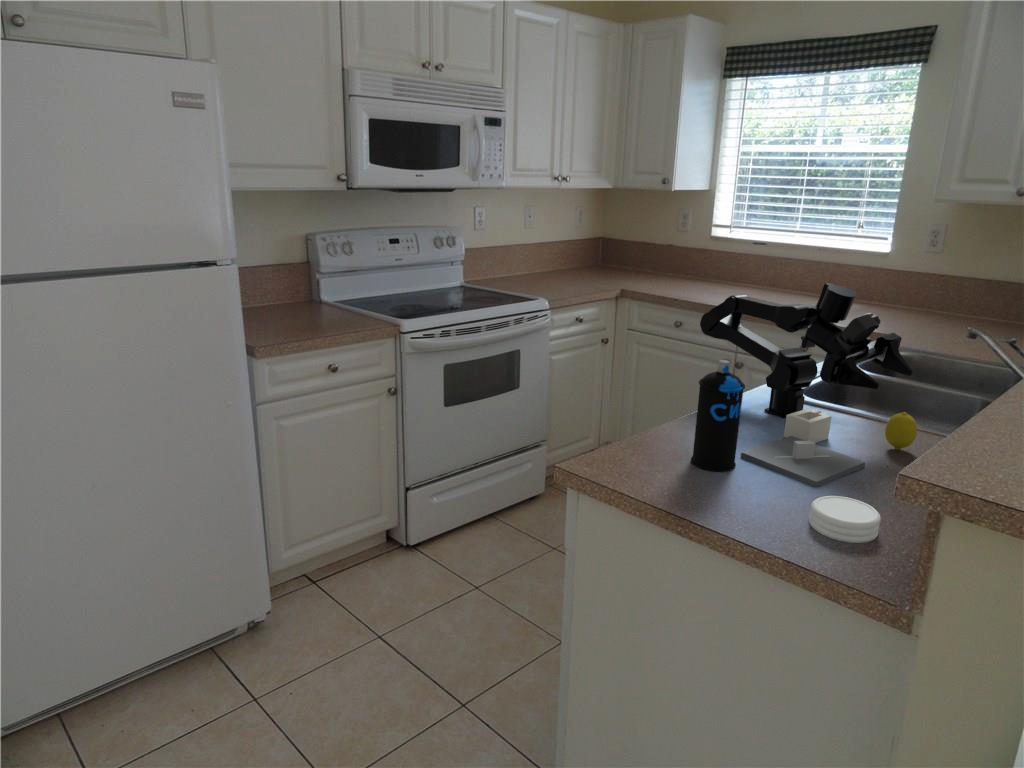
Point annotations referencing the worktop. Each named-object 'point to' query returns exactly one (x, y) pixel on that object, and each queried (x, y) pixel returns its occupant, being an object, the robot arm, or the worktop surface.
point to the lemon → (901, 430)
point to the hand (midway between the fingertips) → (895, 380)
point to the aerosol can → (718, 420)
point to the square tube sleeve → (808, 425)
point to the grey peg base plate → (803, 460)
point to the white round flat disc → (844, 519)
